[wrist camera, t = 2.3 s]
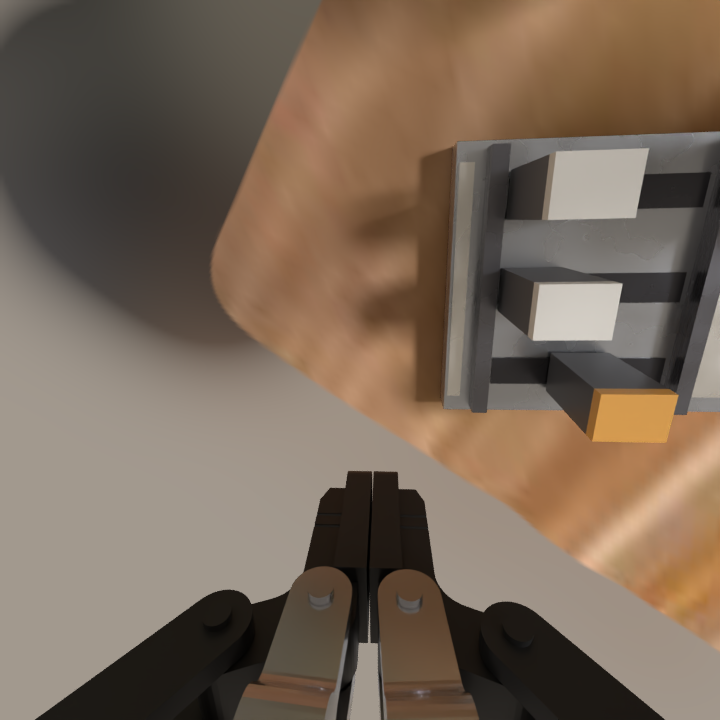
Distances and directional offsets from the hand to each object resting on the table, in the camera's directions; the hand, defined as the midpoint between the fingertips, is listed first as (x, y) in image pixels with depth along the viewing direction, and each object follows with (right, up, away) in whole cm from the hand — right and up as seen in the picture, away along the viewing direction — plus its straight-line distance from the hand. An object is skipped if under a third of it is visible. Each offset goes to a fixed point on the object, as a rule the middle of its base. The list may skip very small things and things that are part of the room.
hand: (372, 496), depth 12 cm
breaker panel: (+14, +8, +9) cm, 19 cm away
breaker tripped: (+11, +3, +10) cm, 15 cm away
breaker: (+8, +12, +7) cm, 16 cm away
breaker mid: (+8, +8, +8) cm, 14 cm away
